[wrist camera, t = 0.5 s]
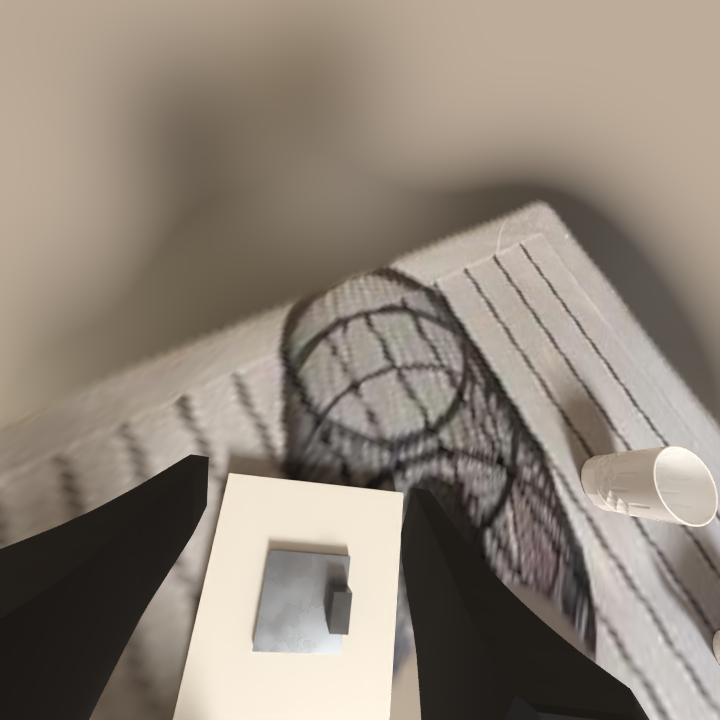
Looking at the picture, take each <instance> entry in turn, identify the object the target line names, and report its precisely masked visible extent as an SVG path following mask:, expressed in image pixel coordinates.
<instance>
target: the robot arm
mask: <svg viewBox="0 0 720 720" xmlns="http://www.w3.org/2000/svg"><path fill="white" fill-rule="evenodd" d="M208 461H209V457H205V456H198V455H192V454H191V455H189V456H187V457H186V458H184V459H182V460H181V461H179V462H177V463H176V464H174V465H172V466H171V467H169V468H167V469H166V470H164V471H162V472H161V473H159V474H157V475H156V476H154V477H152V478H151V479H149V480H147V481H146V482H144V483H142V484H141V485H139V486H137V487H135V488H134V489H132V490H130V491H128V492H126V493H124V494H123V495H121V496H119V497H117V498H115V499H113V500H111V501H110V502H108V503H106V504H104V505H102V506H100V507H98V508H96V509H94V510H92V511H90V512H88V513H86V514H84V515H82V516H80V517H77V518H75V519H73V520H71V521H69V522H66V523H64V524H62V525H60V526H57V527H55V528H53V529H50V530H48V531H45V532H43V533H40V534H38V535H35V536H33V537H30V538H28V539H25V540H23V541H20V542H18V543H15V544H13V545H10V546H7V547H5V548H2V549H0V720H89V718H90V716H91V714H92V712H93V710H94V708H95V706H96V704H97V702H98V700H99V698H100V696H101V694H102V692H103V690H104V688H105V686H106V684H107V682H108V680H109V678H110V676H111V674H112V672H113V670H114V668H115V666H116V664H117V662H118V660H119V658H120V656H121V654H122V652H123V650H124V648H125V646H126V645H127V643H128V641H129V639H130V637H131V635H132V633H133V631H134V629H135V627H136V626H137V624H138V622H139V620H140V618H141V616H142V614H143V613H144V611H145V609H146V608H147V606H148V604H149V603H150V601H151V599H152V598H153V596H154V595H155V593H156V591H157V590H158V588H159V587H160V585H161V584H162V582H163V581H164V579H165V577H166V576H167V574H168V573H169V571H170V570H171V568H172V566H173V565H174V563H175V562H176V560H177V559H178V557H179V555H180V554H181V552H182V551H183V549H184V548H185V546H186V544H187V543H188V541H189V540H190V538H191V536H192V535H193V533H194V531H195V529H196V527H197V525H198V523H199V521H200V519H201V517H202V514H203V512H204V510H205V508H206V506H207V488H208ZM401 548H402V564H403V571H404V577H405V583H406V589H407V595H408V601H409V607H410V613H411V619H412V625H413V631H414V638H415V646H416V654H417V666H418V679H419V691H420V706H421V720H649V718H648V717H647V715H646V713H645V712H644V710H643V709H642V707H641V705H640V704H639V702H638V700H637V699H636V697H635V696H634V694H633V693H632V691H631V690H630V688H628V687H627V686H626V685H624V684H623V683H621V682H620V681H619V680H617V679H616V678H615V677H613V676H612V675H611V674H609V673H608V672H606V671H605V670H604V669H602V668H601V667H600V666H598V665H597V664H595V663H594V662H593V661H591V660H590V659H589V658H587V657H586V656H585V655H583V654H582V653H581V652H579V651H578V650H577V649H576V648H574V647H573V646H572V645H571V644H570V643H568V642H567V641H566V640H564V639H563V638H562V637H561V636H560V635H558V634H557V633H556V632H555V631H553V630H552V629H551V628H550V627H549V626H548V625H547V624H545V623H544V622H543V621H542V620H541V619H540V618H539V617H538V616H537V615H535V614H534V613H533V612H532V611H531V610H530V609H529V608H527V606H526V605H525V604H523V603H522V602H521V601H520V600H519V599H518V598H517V597H516V596H515V595H514V594H513V593H512V592H511V591H510V590H509V589H508V588H507V587H506V586H505V585H504V584H503V583H502V582H501V581H500V580H499V578H498V577H497V576H496V575H495V574H494V573H493V572H492V571H491V570H490V569H489V568H488V567H487V565H486V564H485V563H484V562H483V561H482V560H481V558H480V557H479V556H478V555H477V554H476V552H475V551H474V550H473V549H472V548H471V546H470V545H469V544H468V543H467V541H466V540H465V539H464V537H463V536H462V535H461V534H460V532H459V531H458V530H457V528H456V527H455V526H454V524H453V523H452V521H451V520H450V519H449V517H448V516H447V514H446V513H445V512H444V510H443V509H442V507H441V506H440V504H439V503H438V501H437V500H436V499H435V497H434V496H433V494H432V493H431V491H430V490H424V489H418V488H413V489H412V493H411V496H410V500H409V504H408V508H407V512H406V516H405V519H404V523H403V527H402V531H401Z"/></svg>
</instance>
